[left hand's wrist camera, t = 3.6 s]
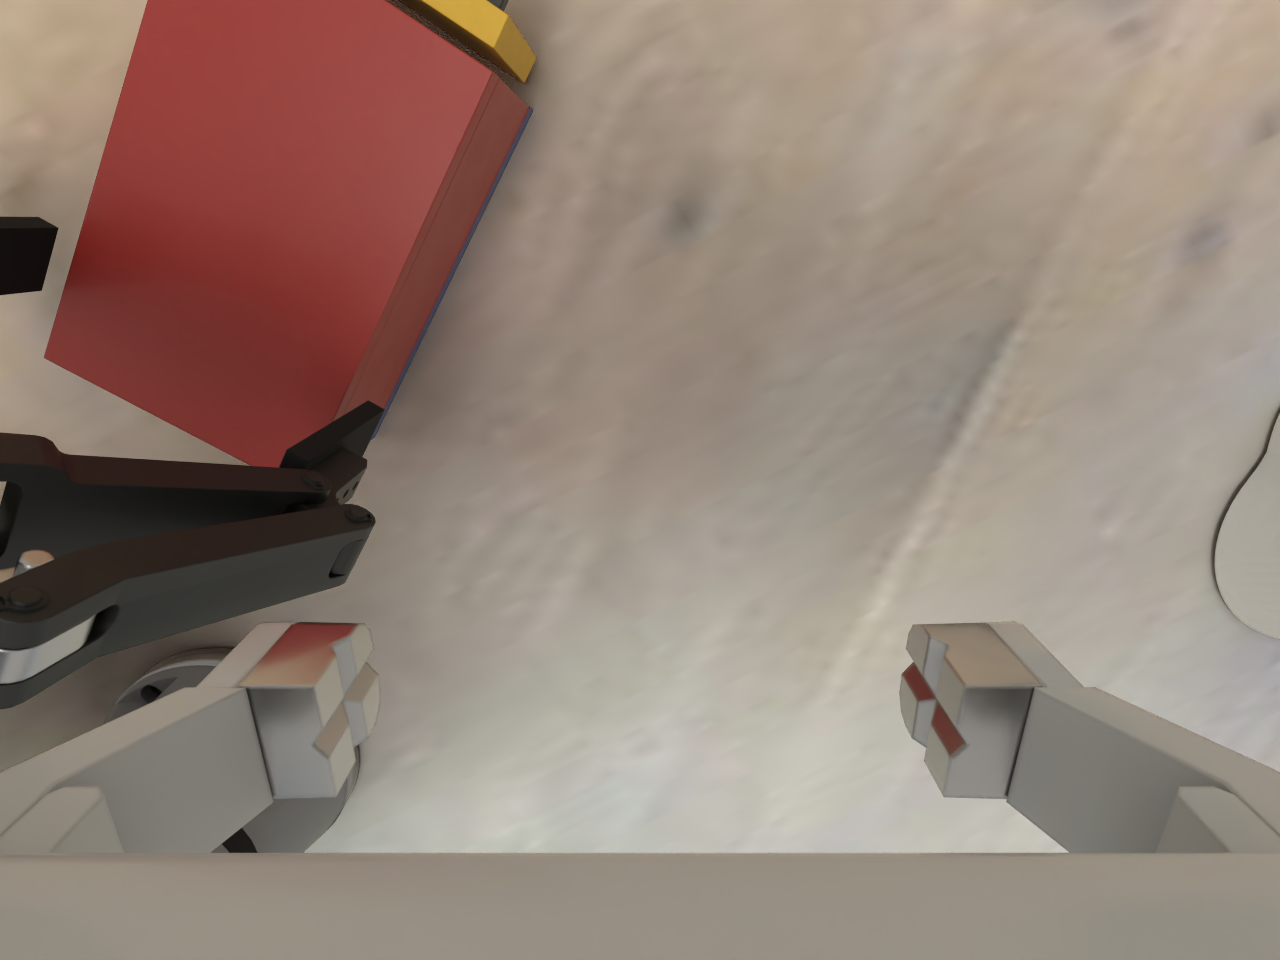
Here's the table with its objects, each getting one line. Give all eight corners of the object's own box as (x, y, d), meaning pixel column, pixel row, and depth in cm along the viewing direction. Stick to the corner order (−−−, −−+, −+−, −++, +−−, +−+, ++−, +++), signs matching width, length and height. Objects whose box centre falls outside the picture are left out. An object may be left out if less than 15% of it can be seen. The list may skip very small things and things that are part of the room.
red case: (308, -38, 30) (185, -134, 22) (533, 110, 31) (493, 71, 24) (177, 330, 35) (42, 358, 28) (374, 437, 37) (300, 492, 29)
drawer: (377, -226, 27) (298, -355, 21) (596, -68, 28) (582, -146, 22) (195, 282, 33) (98, 293, 28) (380, 386, 35) (326, 417, 29)
